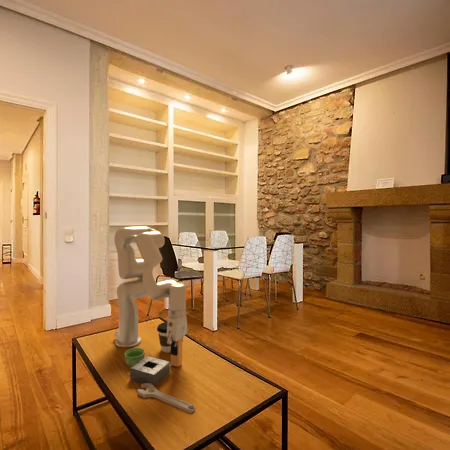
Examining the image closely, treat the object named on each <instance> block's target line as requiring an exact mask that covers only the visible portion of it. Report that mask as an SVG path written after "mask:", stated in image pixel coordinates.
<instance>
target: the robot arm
mask: <svg viewBox="0 0 450 450" xmlns="http://www.w3.org/2000/svg"><path fill="white" fill-rule="evenodd" d="M113 241H114V245H115V249H116V253H117V266H118V267H117V268H118V269H117V270H118V276H119V277H120V279H122V280H128V279H134V280H129V281H124V282H122V283H120V284H119V285H118V286H117V287H116V296H117V302H118V304H117V305H118V330H116V331H115V333H114V334H113V336H114V337H117V338H116V340H115V345H116V346H117V347H119V348H132V347H135V346H137V345H139V344H141V342H142V337H141V336H139V307H138V304H137V302H135V300H137V299H141V298H143V297H147V296H148V297H149V299H151V300H153V301H160V300H162V299H165V298H168V306H167V307H168V318H167V322H168V324H167V339H168V341H167V344H170V346H171V352H170V356H171V355H175V356H177V349H178V346H177V341H178V340H179V339H181V338H182V343H183V342H184V337H185V336H186V335H187V333H188V317H187V312H186V311H187V286H186V284H184V283H183V282H178V281H175V280H173V279H167V280H162V281H161V280H160V281H155V278H154V275H153V273H154V272H153V270H154V268H156V267H157V266H158V265H160V264H161V263H162V262H163V256H162V254H161V252H160V248H162V247H163V246H164V245H165V242H166V241H165V237H164V235H163V234H162V233H161V232H160V231H158V230H157V229H153V228H152V227H148V226H123V227H121V228H119V229H117V230H116V231H115V234H114V239H113ZM131 244H136V247H137V249H138V251H139V253H140V256H141V258H136V253H135V250H134V247H133V246H132V245H131ZM135 278H136V279H135ZM173 341H175V342H173Z"/></svg>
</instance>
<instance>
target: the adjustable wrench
mask: <svg viewBox="0 0 450 450" xmlns="http://www.w3.org/2000/svg"><path fill="white" fill-rule="evenodd" d="M140 386H141V387H140V388H138V389H137V394H138V396H140V397H141V398H142V399H146V398H155V399H158V400H159V401H162V402H164V403H167V404H169V405H171V406H173V407H176V408H179V409H180V410H182V411H185V412H187V413H190V414H192V413H194V412H195V411H196V406H195V405H194V404H193V403H192V404H191V403H189V402H186V401H185V400H183V399H182V400H181V399H180V398H177V397H175V396H172V395H169V394H168V393H164V392H162V391H160V390H158V389H157V388H156V386H155V387H154V385H153V384H151V383H144V384H140ZM145 389H146V390H145Z"/></svg>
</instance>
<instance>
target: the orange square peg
mask: <svg viewBox="0 0 450 450" xmlns="http://www.w3.org/2000/svg"><path fill="white" fill-rule="evenodd" d="M173 342H175V341H173ZM177 346H178V349H177V356H175V355H171V354H170V366H174V367H178V368H179V367H180V366H181V365H182V364H183V342H182V338H181V339H179V340H178V341H177Z"/></svg>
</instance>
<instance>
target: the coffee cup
mask: <svg viewBox="0 0 450 450" xmlns="http://www.w3.org/2000/svg"><path fill="white" fill-rule="evenodd" d="M167 324H168V321H165V322H161V323H159V324H158V325H157V327H156V331H157V332H158V338H159V339H158V340H159V344H160V349H161V351H162V352H163V353H171V346H170V344H167V341H168V339H167Z"/></svg>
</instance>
